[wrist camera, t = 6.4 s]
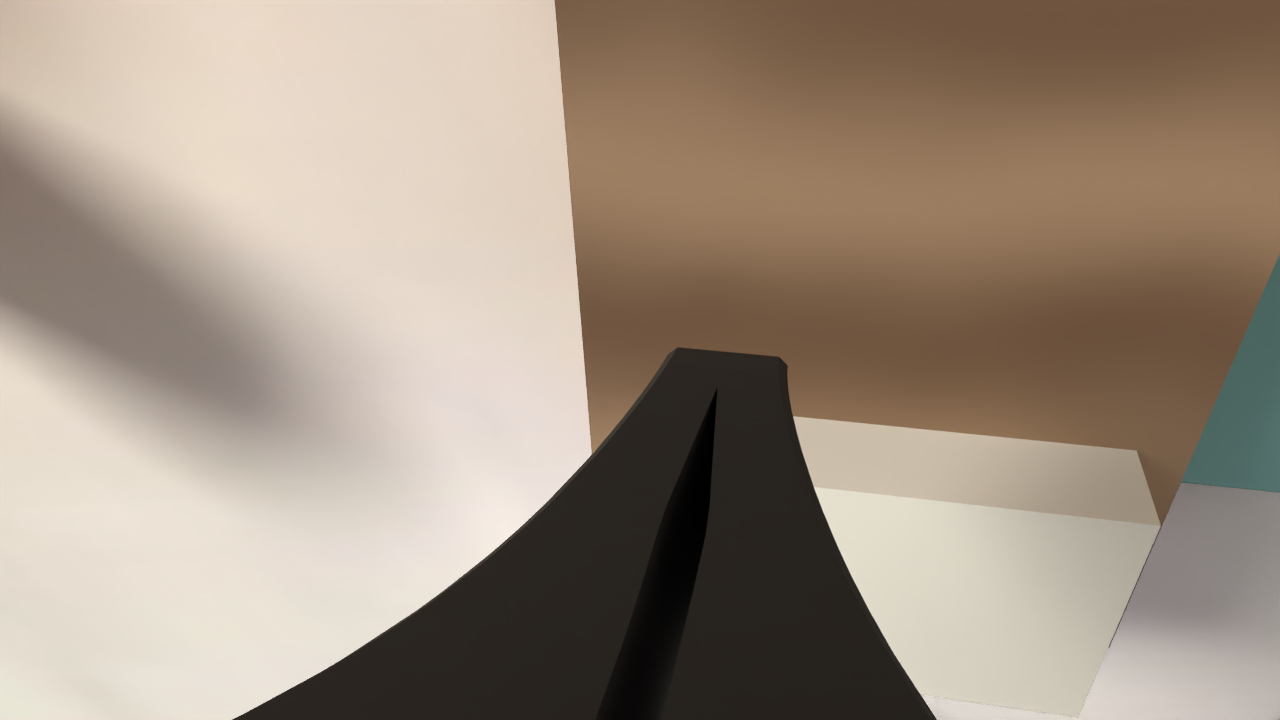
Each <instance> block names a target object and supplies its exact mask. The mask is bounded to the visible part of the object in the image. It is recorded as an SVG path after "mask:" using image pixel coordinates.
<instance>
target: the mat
mask: <svg viewBox="0 0 1280 720" xmlns="http://www.w3.org/2000/svg"><path fill="white" fill-rule="evenodd" d="M1181 482H1184V483H1194V484H1203V485H1213V486H1223V487H1232V488H1242V489H1251V490H1261V491H1270V492H1280V254H1279V256H1278V259H1277V261H1276V263H1275V266H1274V268H1273V270H1272V273H1271V275H1270V277H1269V280H1268V282H1267V284H1266V286H1265V289H1264V291H1263V293H1262V296H1261V298H1260V300H1259V303H1258V305H1257V307H1256V310H1255V312H1254V314H1253V317H1252V319H1251V321H1250V323H1249V326H1248V328H1247V330H1246V333H1245V335H1244V337H1243V340H1242V342H1241V344H1240V347H1239V349H1238V351H1237V353H1236V356H1235V358H1234V360H1233V363H1232V365H1231V367H1230V370H1229V372H1228V374H1227V377H1226V379H1225V381H1224V383H1223V386H1222V388H1221V390H1220V393H1219V395H1218V397H1217V400H1216V402H1215V404H1214V407H1213V409H1212V411H1211V413H1210V416H1209V418H1208V420H1207V423H1206V425H1205V427H1204V430H1203V432H1202V434H1201V437H1200V439H1199V441H1198V443H1197V446H1196V448H1195V450H1194V453H1193V455H1192V457H1191V460H1190V462H1189V464H1188V467H1187V469H1186V471H1185V474H1184V476H1183V478H1182V480H1181Z"/></svg>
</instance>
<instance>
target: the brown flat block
mask: <svg viewBox="0 0 1280 720" xmlns="http://www.w3.org/2000/svg"><path fill="white" fill-rule="evenodd" d="M555 8H556V20H557V32H558V45H559V57H560V69H561V81H562V94H563V106H564V118H565V130H566V142H567V155H568V167H569V179H570V191H571V203H572V216H573V228H574V240H575V252H576V264H577V277H578V289H579V301H580V313H581V326H582V338H583V350H584V362H585V374H586V387H587V399H588V411H589V423H590V435H591V448H592V454H593V453H594V452H595V451H596V449H597V448H598V447H599V446H600V445H601V443H602V442H603V441H604V440H605V439H606V437H607V436H608V435H609V434H610V433H611V431H612V430H613V429H614V428H615V427H616V425H617V424H618V423H619V422H620V421H621V419H622V418H623V417H624V416H625V414H626V413H627V412H628V411H629V409H630V408H631V407H632V405H633V404H634V403H635V401H636V400H637V399H638V398H639V396H640V395H641V394H642V392H643V391H644V389H645V388H646V387H647V385H648V384H649V382H650V381H651V380H652V378H653V377H654V375H655V374H656V372H657V371H658V369H659V368H660V366H661V365H662V363H663V362H664V360H665V358H666V357H667V355H668V354H669V353H670V352H672V351H673V350H674V349H676V348H677V347H681V348H692V349H703V350H713V351H724V352H735V353H745V354H756V355H767V356H777V357H780V358H781V359H782V360H783V361H784V362H785V363H786V364H787V365H788V370H787V378H788V390H789V398H790V403H791V409H792V414H793V416H796V417H806V418H816V419H826V420H836V421H846V422H856V423H866V424H876V425H886V426H896V427H906V428H916V429H926V430H936V431H946V432H956V433H966V434H976V435H986V436H996V437H1006V438H1016V439H1026V440H1036V441H1046V442H1056V443H1066V444H1076V445H1086V446H1096V447H1106V448H1116V449H1126V450H1136V451H1137V453H1138V456H1139V459H1140V463H1141V466H1142V469H1143V472H1144V475H1145V478H1146V481H1147V484H1148V487H1149V491H1150V494H1151V497H1152V500H1153V503H1154V506H1155V509H1156V512H1157V515H1158V519H1159V522H1160V525H1161V527H1162V524H1163V522H1164V520H1165V517H1166V515H1167V513H1168V510H1169V508H1170V506H1171V504H1172V501H1173V499H1174V497H1175V494H1176V492H1177V490H1178V487H1179V485H1180V483H1181V480H1182V478H1183V476H1184V474H1185V471H1186V469H1187V467H1188V464H1189V462H1190V460H1191V457H1192V455H1193V453H1194V450H1195V448H1196V446H1197V443H1198V441H1199V439H1200V437H1201V434H1202V432H1203V430H1204V427H1205V425H1206V423H1207V420H1208V418H1209V416H1210V413H1211V411H1212V409H1213V407H1214V404H1215V402H1216V400H1217V397H1218V395H1219V393H1220V390H1221V388H1222V386H1223V383H1224V381H1225V379H1226V377H1227V374H1228V372H1229V370H1230V367H1231V365H1232V363H1233V360H1234V358H1235V356H1236V353H1237V351H1238V349H1239V347H1240V344H1241V342H1242V340H1243V337H1244V335H1245V333H1246V330H1247V328H1248V326H1249V323H1250V321H1251V319H1252V317H1253V314H1254V312H1255V310H1256V307H1257V305H1258V303H1259V300H1260V298H1261V296H1262V293H1263V291H1264V289H1265V286H1266V284H1267V282H1268V280H1269V277H1270V275H1271V273H1272V270H1273V268H1274V266H1275V263H1276V261H1277V259H1278V256H1279V254H1280V0H555ZM1161 527H1160V529H1161ZM1160 529H1159V531H1160ZM1159 531H1158V534H1159ZM1158 534H1157V536H1158ZM1157 536H1156V538H1157ZM1156 538H1155V540H1156ZM1154 543H1155V541H1154ZM1154 543H1153V545H1154ZM1153 545H1152V547H1153ZM1152 547H1151V550H1152ZM1151 550H1150V552H1151ZM1150 552H1149V554H1150ZM1149 554H1148V557H1149ZM1148 557H1147V559H1148ZM1147 559H1146V561H1147ZM1146 561H1145V564H1146ZM1145 564H1144V566H1145ZM1144 566H1143V568H1144ZM1143 568H1142V570H1143ZM1141 573H1142V571H1141ZM1141 573H1140V575H1141ZM1140 575H1139V577H1140ZM1138 580H1139V578H1138ZM1138 580H1137V582H1138ZM1137 582H1136V584H1137ZM1136 584H1135V587H1136ZM1135 587H1134V589H1135ZM1134 589H1133V591H1134ZM1133 591H1132V594H1133ZM1132 594H1131V596H1132ZM1131 596H1130V598H1131ZM1130 598H1129V600H1130ZM1128 603H1129V601H1128ZM1128 603H1127V605H1128ZM1127 605H1126V607H1127ZM1125 610H1126V608H1125ZM1125 610H1124V612H1125ZM1124 612H1123V614H1124ZM1122 617H1123V615H1122ZM1122 617H1121V619H1122ZM1121 619H1120V621H1121ZM1120 621H1119V624H1120ZM1119 624H1118V626H1119ZM1118 626H1117V628H1118ZM1117 628H1116V631H1117ZM1116 631H1115V633H1116ZM1115 633H1114V635H1115ZM1114 635H1113V637H1114ZM1112 640H1113V638H1112ZM1112 640H1111V642H1112ZM1111 642H1110V644H1111ZM1109 647H1110V645H1109Z"/></svg>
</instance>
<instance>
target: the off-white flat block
mask: <svg viewBox="0 0 1280 720" xmlns="http://www.w3.org/2000/svg"><path fill="white" fill-rule="evenodd" d="M793 418H794V422H795V427H796V431H797V435H798V439H799V442H800V446H801V449H802V452H803V455H804V459H805V462H806V465H807V468H808V471H809V474H810V477H811V480H812V483H813V486H814V489H815V492H816V494H817V497H818V499H819V502H820V505H821V507H822V510H823V513H824V515H825V517H826V520H827V522H828V525H829V527H830V529H831V532H832V534H833V537H834V539H835V541H836V544H837V546H838V548H839V550H840V552H841V555H842V557H843V559H844V561H845V563H846V565H847V567H848V570H849V572H850V574H851V576H852V578H853V580H854V582H855V584H856V586H857V588H858V590H859V591H860V593H861V595H862V597H863V599H864V601H865V603H866V605H867V607H868V609H869V611H870V613H871V614H872V616H873V618H874V620H875V621H876V623H877V625H878V627H879V628H880V630H881V632H882V634H883V635H884V637H885V639H886V641H887V643H888V644H889V646H890V648H891V650H892V651H893V653H894V655H895V656H896V658H897V659H898V661H899V662H900V664H901V665H902V667H903V668H904V670H905V672H906V673H907V675H908V676H909V678H910V679H911V681H912V682H913V684H914V685H915V687H916V688H917V690H918V692H919V693H920V695H924V696H931V697H938V698H945V699H952V700H959V701H966V702H973V703H980V704H986V705H993V706H1000V707H1007V708H1014V709H1021V710H1028V711H1035V712H1041V713H1048V714H1055V715H1062V716H1069V717H1076V718H1078V716H1079V714H1080V712H1081V709H1082V707H1083V705H1084V702H1085V700H1086V698H1087V696H1088V693H1089V691H1090V689H1091V686H1092V684H1093V682H1094V679H1095V677H1096V675H1097V672H1098V670H1099V668H1100V665H1101V663H1102V661H1103V659H1104V656H1105V654H1106V652H1107V649H1108V647H1109V645H1110V642H1111V640H1112V638H1113V635H1114V633H1115V631H1116V628H1117V626H1118V624H1119V621H1120V619H1121V617H1122V615H1123V612H1124V610H1125V608H1126V605H1127V603H1128V601H1129V598H1130V596H1131V594H1132V591H1133V589H1134V587H1135V584H1136V582H1137V580H1138V578H1139V575H1140V573H1141V571H1142V568H1143V566H1144V564H1145V561H1146V559H1147V557H1148V554H1149V552H1150V550H1151V547H1152V545H1153V543H1154V541H1155V538H1156V536H1157V534H1158V531H1159V529H1160V527H1161V525H1160V522H1159V519H1158V515H1157V512H1156V509H1155V506H1154V503H1153V500H1152V497H1151V494H1150V491H1149V487H1148V484H1147V481H1146V478H1145V475H1144V472H1143V469H1142V466H1141V463H1140V459H1139V456H1138V453H1137V451H1136V450H1126V449H1116V448H1106V447H1096V446H1086V445H1076V444H1066V443H1056V442H1046V441H1036V440H1026V439H1016V438H1006V437H996V436H986V435H976V434H966V433H956V432H946V431H936V430H926V429H916V428H906V427H896V426H886V425H876V424H866V423H856V422H846V421H836V420H826V419H816V418H806V417H796V416H793Z"/></svg>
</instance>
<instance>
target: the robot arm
mask: <svg viewBox="0 0 1280 720" xmlns="http://www.w3.org/2000/svg"><path fill="white" fill-rule="evenodd" d="M787 370H788V365H787V364H786V363H785V362H784V361H783V360H782V359H781V358H780V357H777V356H767V355H756V354H745V353H735V352H724V351H713V350H703V349H692V348H681V347H677V348H676V349H674V350H673V351H672V352H670V353H669V354H668V355H667V357H666V358H665V360H664V362H663V363H662V365H661V366H660V368H659V369H658V371H657V372H656V374H655V375H654V377H653V378H652V380H651V381H650V382H649V384H648V385H647V387H646V388H645V389H644V391H643V392H642V394H641V395H640V396H639V398H638V399H637V400H636V401H635V403H634V404H633V405H632V407H631V408H630V409H629V411H628V412H627V413H626V414H625V416H624V417H623V418H622V419H621V421H620V422H619V423H618V424H617V425H616V427H615V428H614V429H613V430H612V431H611V433H610V434H609V435H608V436H607V437H606V439H605V440H604V441H603V442H602V443H601V445H600V446H599V447H598V448H597V449H596V451H595V452H594V453H593V454H592V455H591V456H590V457H589V459H588V460H587V461H586V462H585V463H584V464H583V465H582V466H581V467H580V468H579V469H578V470H577V471H576V472H575V473H574V474H573V476H572V477H571V478H570V479H569V480H568V481H567V482H566V483H565V484H564V485H563V486H562V487H561V488H560V489H559V490H558V491H557V492H556V493H555V494H554V496H553V497H552V498H551V499H550V500H549V501H548V502H547V503H546V504H545V505H544V506H543V507H542V508H541V509H539V510H538V511H537V512H536V513H535V514H534V515H533V516H532V517H531V518H530V519H529V520H528V521H527V522H526V523H525V524H524V525H523V526H521V527H520V528H519V529H518V530H517V531H516V532H515V533H514V534H513V535H511V536H510V537H509V538H508V539H507V540H506V541H505V542H503V543H502V544H501V545H500V546H499V547H498V548H497V549H495V550H494V551H493V552H492V553H491V554H490V555H488V556H487V557H486V558H485V559H483V560H482V561H481V562H480V563H478V564H477V565H476V566H475V567H473V568H472V569H471V570H470V571H468V572H467V573H466V574H464V575H463V576H462V577H461V578H459V579H458V580H457V581H456V582H454V583H453V584H452V585H451V586H449V587H448V588H447V589H445V590H444V591H443V592H441V593H440V594H439V595H437V596H436V597H435V598H433V599H432V600H431V601H429V602H428V603H427V604H425V605H424V606H422V607H421V608H420V609H418V610H417V611H415V612H414V613H412V614H411V615H409V616H408V617H406V618H405V619H403V620H402V621H400V622H399V623H397V624H396V625H394V626H393V627H391V628H390V629H388V630H387V631H385V632H383V633H382V634H380V635H379V636H377V637H376V638H374V639H373V640H371V641H370V642H368V643H367V644H365V645H364V646H362V647H361V648H359V649H358V650H356V651H354V652H353V653H351V654H350V655H348V656H347V657H345V658H344V659H342V660H340V661H339V662H337V663H335V664H334V665H332V666H330V667H329V668H327V669H325V670H324V671H322V672H320V673H319V674H317V675H315V676H313V677H311V678H309V679H307V680H306V681H304V682H302V683H300V684H298V685H296V686H295V687H293V688H291V689H289V690H287V691H285V692H284V693H282V694H280V695H278V696H276V697H274V698H272V699H271V700H269V701H267V702H265V703H263V704H261V705H260V706H258V707H256V708H254V709H252V710H250V711H249V712H247V713H245V714H243V715H241V716H239V717H237V718H235V719H233V720H937V719H936V718H935V716H934V715H933V713H932V712H931V710H930V709H929V707H928V705H927V704H926V702H925V701H924V699H923V698H922V696H921V695H920V693H919V692H918V690H917V688H916V687H915V685H914V684H913V682H912V681H911V679H910V678H909V676H908V675H907V673H906V672H905V670H904V668H903V667H902V665H901V664H900V662H899V661H898V659H897V658H896V656H895V655H894V653H893V651H892V650H891V648H890V646H889V644H888V643H887V641H886V639H885V637H884V635H883V634H882V632H881V630H880V628H879V627H878V625H877V623H876V621H875V620H874V618H873V616H872V614H871V613H870V611H869V609H868V607H867V605H866V603H865V601H864V599H863V597H862V595H861V593H860V591H859V590H858V588H857V586H856V584H855V582H854V580H853V578H852V576H851V574H850V572H849V570H848V567H847V565H846V563H845V561H844V559H843V557H842V555H841V552H840V550H839V548H838V546H837V544H836V541H835V539H834V537H833V534H832V532H831V529H830V527H829V525H828V522H827V520H826V517H825V515H824V513H823V510H822V507H821V505H820V502H819V499H818V497H817V494H816V492H815V489H814V486H813V483H812V480H811V477H810V474H809V471H808V468H807V465H806V462H805V459H804V455H803V452H802V449H801V446H800V442H799V439H798V435H797V431H796V427H795V422H794V418H793V414H792V409H791V403H790V398H789V390H788V378H787Z"/></svg>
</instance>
